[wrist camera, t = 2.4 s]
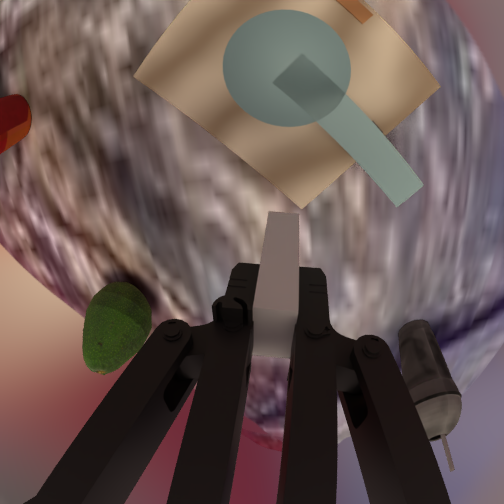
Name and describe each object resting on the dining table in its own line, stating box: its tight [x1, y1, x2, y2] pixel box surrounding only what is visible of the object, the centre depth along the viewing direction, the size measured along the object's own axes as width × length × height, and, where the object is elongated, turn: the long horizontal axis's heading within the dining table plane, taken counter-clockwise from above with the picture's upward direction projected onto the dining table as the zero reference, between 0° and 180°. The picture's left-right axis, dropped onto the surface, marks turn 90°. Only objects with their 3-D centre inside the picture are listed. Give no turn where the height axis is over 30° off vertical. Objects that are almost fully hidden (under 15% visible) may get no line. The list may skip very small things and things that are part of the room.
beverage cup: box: [398, 320, 462, 471], centre depth 28 cm, size 7×7×20 cm
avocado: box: [82, 282, 152, 375], centre depth 32 cm, size 8×8×12 cm
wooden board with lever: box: [133, 0, 441, 209], centre depth 19 cm, size 18×16×4 cm
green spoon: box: [223, 10, 424, 207], centre depth 17 cm, size 14×7×3 cm, turn 50°
